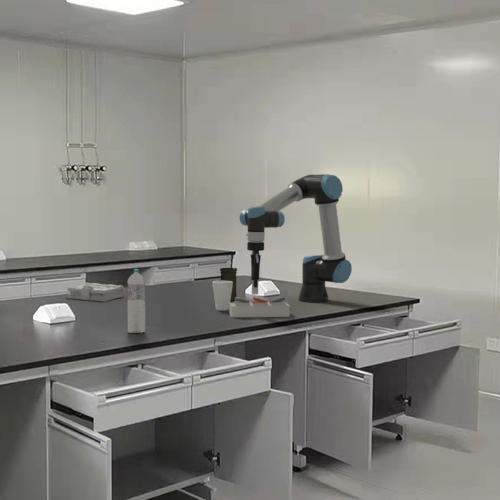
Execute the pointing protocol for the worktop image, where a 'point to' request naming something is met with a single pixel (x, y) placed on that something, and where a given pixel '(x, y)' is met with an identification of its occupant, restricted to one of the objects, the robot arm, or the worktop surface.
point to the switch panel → (259, 309)
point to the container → (230, 279)
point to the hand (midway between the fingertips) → (254, 294)
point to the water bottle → (136, 303)
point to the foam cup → (222, 294)
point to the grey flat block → (96, 292)
